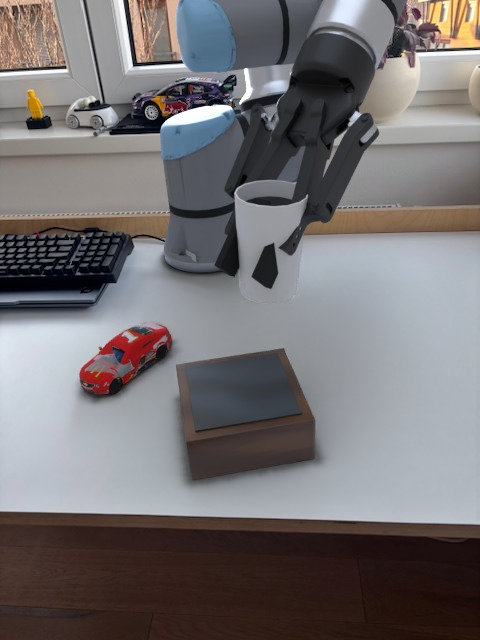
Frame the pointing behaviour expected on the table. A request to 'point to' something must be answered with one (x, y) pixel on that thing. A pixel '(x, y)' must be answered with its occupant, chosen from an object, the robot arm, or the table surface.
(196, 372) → the stand
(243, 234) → the white coffee cup
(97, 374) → the race car
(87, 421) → the table surface
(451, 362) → the table surface
